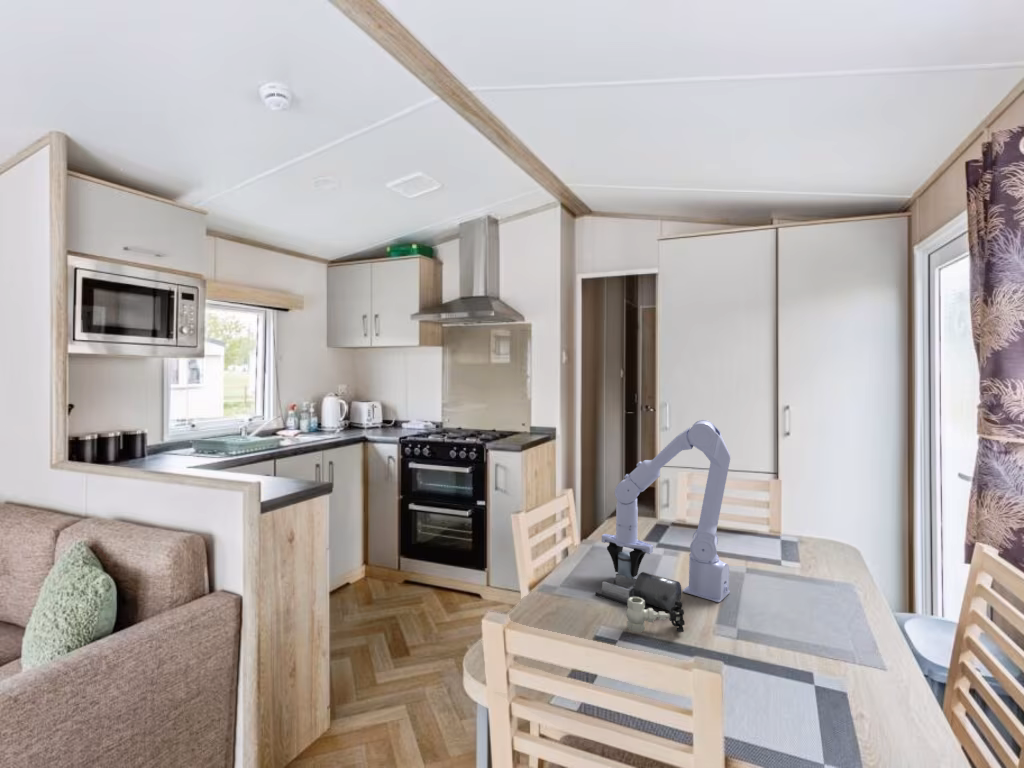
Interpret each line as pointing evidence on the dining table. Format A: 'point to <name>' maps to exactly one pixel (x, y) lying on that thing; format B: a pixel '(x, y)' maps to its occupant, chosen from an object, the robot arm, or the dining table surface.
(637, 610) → the valve
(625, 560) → the banded grey cylinder
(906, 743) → the dining table surface
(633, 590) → the motor
